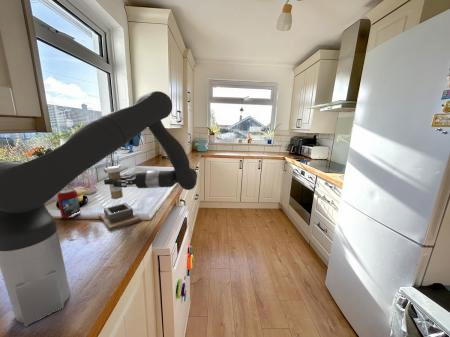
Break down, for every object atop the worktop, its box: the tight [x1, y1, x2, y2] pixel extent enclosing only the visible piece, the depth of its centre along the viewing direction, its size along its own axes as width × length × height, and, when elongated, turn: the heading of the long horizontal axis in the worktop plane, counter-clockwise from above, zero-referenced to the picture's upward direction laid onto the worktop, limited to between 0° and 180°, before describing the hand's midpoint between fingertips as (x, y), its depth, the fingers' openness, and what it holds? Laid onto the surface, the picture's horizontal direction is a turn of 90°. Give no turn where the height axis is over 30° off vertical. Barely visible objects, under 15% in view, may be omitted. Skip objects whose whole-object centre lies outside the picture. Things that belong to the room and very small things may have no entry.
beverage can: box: [56, 188, 81, 219], centre depth 84 cm, size 7×7×12 cm
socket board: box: [99, 202, 142, 232], centre depth 83 cm, size 18×12×4 cm, turn 44°
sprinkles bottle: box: [106, 165, 124, 200], centre depth 79 cm, size 5×5×13 cm
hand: (108, 180), depth 79 cm, fingers closed on sprinkles bottle, 4 cm apart
